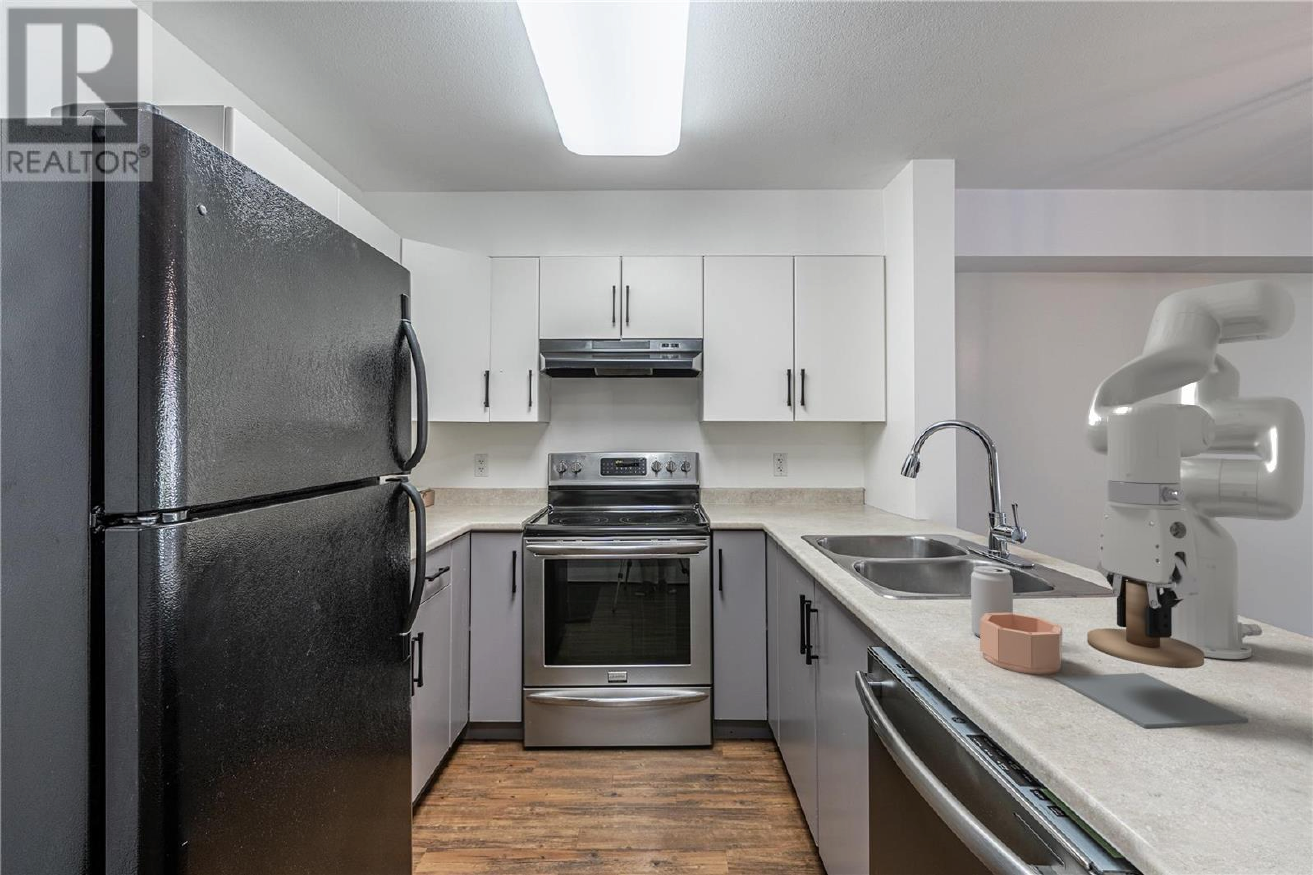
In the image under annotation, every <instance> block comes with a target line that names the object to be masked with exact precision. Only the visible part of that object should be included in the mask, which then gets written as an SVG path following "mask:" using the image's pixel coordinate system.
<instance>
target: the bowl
mask: <svg viewBox="0 0 1313 875" xmlns="http://www.w3.org/2000/svg"><path fill="white" fill-rule="evenodd" d="M979 640H980V641H979V645H980V646H979V647H980V648H979V651H980V652H981V653H982V656H983V659H984V660H986V662H989V663H990V664H992V665H994V666H996V667H1000V668H1003V669H1005V670H1009V671H1012V672H1017V673H1020V674H1021V673H1022V674H1029V675H1040V676H1041V675H1042V676H1043V675H1054V674H1056V673H1058V672H1060V671H1061V668H1062V661H1063V626H1062V625H1059V624H1058V623H1055V622H1052V621H1050V620H1048V619H1046V618H1043V617H1041V616H1034V615H1027V614H1022V613H1021V614H1020V613H1015V612H1013V613H985V614H984V616H983V617H982V618H981V619H980V637H979Z"/></svg>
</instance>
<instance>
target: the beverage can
mask: <svg viewBox="0 0 1313 875" xmlns="http://www.w3.org/2000/svg"><path fill="white" fill-rule="evenodd" d="M970 578H971V579H970V581H971V582H970V585H971V586H970V590H971V591H970V593H971V594H970V597H971V602H970V605H971V607H970V608H971V610H970V611H971V631H972V632H973V633H974V634H975V636H977V637H978V638H980V619H981V618H982V617H983V616H984V614H985V613H1014V590H1013V589H1014V588H1013V587H1014V585H1013V584H1014V583H1013V579H1014V578H1013V577H1012V576H1011V571H1010V570H1009V569H1007V568H1003V567H998V566H991V565H988V566H987V565H978V566H974V567H973V572H971V574H970Z"/></svg>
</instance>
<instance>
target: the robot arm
mask: <svg viewBox="0 0 1313 875" xmlns="http://www.w3.org/2000/svg"><path fill="white" fill-rule="evenodd" d="M1295 317H1296V305H1295V301H1294V299H1293V296H1292V294H1291V293H1290V291H1289V290H1288V289H1287V288H1286V287H1284V285H1281V284H1279V283H1277V282H1275V281H1273V280H1269V279H1256V278H1255V279H1247V280H1240V281H1234V282H1233V281H1232V282H1228V283H1220V284H1215V285H1214V284H1213V285H1208V286H1202V287H1201V286H1199V287H1195V288H1189V289H1184V290H1180V291H1177V292H1173V293H1172V294H1170V295H1168V296H1166V297H1165V298H1163V299H1162V300H1160V301H1159V303H1158V305H1157V307H1156V308H1155V311H1154V312H1153V316H1152V320H1151V323H1150V327H1149V330H1148V333H1147V335H1146V336H1147V337H1146V340H1145V343H1144V346H1143V350H1142V354H1141V355H1139V356H1136V357H1135V358H1133V359H1132V360H1130V361H1129V362H1127V363H1124V365H1122V366H1121V367H1119V368H1117V369H1116V370H1115V371H1114V372H1112V373H1111V374H1109V375H1108V376H1107V377H1106V378H1104V379H1103V380H1102V381H1101V382H1100V383H1099V385H1098V386H1097V387H1096V389H1095V391H1094V392H1093V395H1092V398H1091V400H1090V403H1089V406H1088V410H1087V412H1086V416H1085V419H1084V423H1083V424H1084V425H1083V438H1084V442H1085V443H1086V446H1087V447H1088V448H1089V449H1090V450H1091V451H1092V452H1094V454H1095V453H1096V454H1099V455H1103V456H1107V502H1105V504H1104V509H1103V512H1102V514H1103V515H1102V519H1101V526H1100V538H1099V557H1100V560H1099V562H1098V564H1097V565H1096V570H1097V571H1098V572H1099V573H1100V574H1101V575H1102V576H1103V577H1104V578H1105V579H1106V581H1107V583H1108V584H1109V585H1110V587H1111V588H1112V589H1111V593H1112V595H1113V596H1114V597H1116V625H1117V626H1118V627H1121V628H1126V581H1143V582H1146V583H1147V589H1148V596H1149V603H1150V606H1146V608H1145V634H1146V636H1147V637H1150V638H1167V637H1170V638H1173V639H1177V640H1180V641H1183V642H1186V643H1188V644H1191V645H1193V646H1195V647H1197V648H1199V649H1200V650H1202V651H1203V653H1204V658H1212V659H1220V660H1222V659H1223V660H1245V659H1249V658H1250V657H1251V656H1252V648H1251V647H1250V645H1249V644H1247V643H1245V642H1244V641H1243V639H1244V638H1245V637H1246V636H1247V637H1257V636H1261V635H1262V634H1263V629H1262V628H1261V626H1260V625H1259V624H1257V623H1243V622H1240V621H1239V616H1238V615H1239V612H1238V610H1239V606H1238V604H1239V603H1238V602H1239V601H1238V600H1239V599H1238V598H1239V597H1238V593H1239V592H1238V588H1239V587H1238V578H1239V577H1238V576H1239V575H1238V569H1239V568H1238V558H1239V557H1238V545H1237V542H1236V540H1235V539H1234V537H1233V536H1232V535H1231V534H1230V533H1229V532H1228V530H1227V529H1225V527H1223V526H1222V525H1221V524H1220V523H1219V521H1218V520H1216V518H1231V519H1245V520H1256V521H1257V520H1258V521H1277V522H1278V521H1279V522H1280V521H1287V520H1291V519H1294V518H1295V517H1296V516H1297V515H1299V513H1300V512H1301V509H1302V505H1303V500H1304V491H1305V490H1304V488H1305V484H1304V483H1305V481H1304V480H1305V452H1306V451H1305V450H1306V449H1305V444H1306V443H1305V442H1306V439H1305V438H1306V428H1305V424H1306V423H1305V418H1304V414H1303V411H1302V409H1301V407H1300V406H1299V405H1298V403H1297V402H1296V401H1294V400H1293V399H1291V398H1288V397H1284V396H1276V395H1275V396H1273V395H1269V396H1268V395H1266V396H1263V395H1262V396H1244V397H1242V396H1240V383H1241V374H1240V371H1239V370H1238V368H1237V367H1236V366H1235V365H1233V364H1232V362H1230V361H1229V360H1228V359H1226V358H1225V357H1223V356H1222V355H1221V354H1219V353H1217V349H1218V347H1219V346H1218V345H1223V344H1232V343H1233V344H1235V343H1245V342H1256V341H1266V340H1267V341H1268V340H1273V339H1278V338H1282V337H1283V336H1285V335H1286V334H1287V333H1288V332H1290V330H1291V328H1292V327H1293V324H1294V321H1295ZM1170 392H1171V403H1138V402H1140V401H1143V400H1146V399H1150V398H1152V397H1156V396H1160V395H1163V394H1166V393H1170ZM1200 454H1203V455H1205V454H1206V455H1241V456H1242V455H1249V456H1250V455H1254V456H1258V457H1259V458H1261V459H1246V458H1245V459H1241V458H1239V459H1235V458H1214V457H1213V458H1212V457H1209V458H1208V457H1205V458H1204V457H1203V458H1202V457H1200V458H1199V457H1195V456H1198V455H1200Z"/></svg>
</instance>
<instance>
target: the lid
mask: <svg viewBox="0 0 1313 875" xmlns="http://www.w3.org/2000/svg"><path fill="white" fill-rule="evenodd" d="M1146 606H1150V603H1149V596H1148V589H1147V583H1146V582H1143V581H1128V580H1126V627H1125V629H1124V628H1106V627H1105V628H1096V629H1091V630H1089V631H1088V632H1087V635H1086V636H1087V637H1086V638H1087V640H1086V641H1087V644H1088V645H1089V646H1090V647H1091V648H1093V649H1094V650H1095V651H1099V652H1100V653H1103V654H1105V655H1108V656H1110V657H1113V658H1117V659H1121V660H1124V661H1128V662H1132V663H1134V664H1135V663H1137V664H1140V665H1147V666H1153V667H1160V668H1168V669H1195V668H1199V667H1202V666H1204V665H1205V657H1204V653H1203V651H1202V650H1200V649H1199V648H1197V647H1195V646H1193V645H1191V644H1188V643H1186V642H1183V641H1180V640H1177V639H1173V638H1170V637H1167V638H1150V637H1147V636H1146V634H1145V608H1146Z"/></svg>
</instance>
